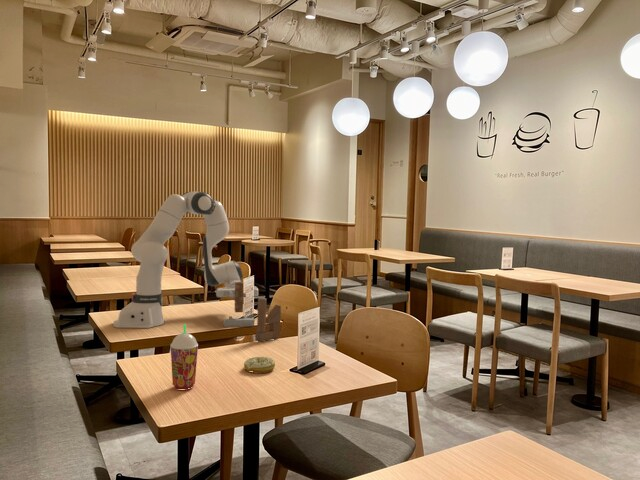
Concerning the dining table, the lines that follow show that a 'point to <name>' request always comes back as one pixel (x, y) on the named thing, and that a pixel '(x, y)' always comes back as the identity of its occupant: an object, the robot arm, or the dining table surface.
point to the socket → (238, 322)
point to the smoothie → (184, 360)
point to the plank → (238, 296)
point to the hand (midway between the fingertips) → (239, 295)
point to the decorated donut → (259, 364)
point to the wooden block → (267, 322)
